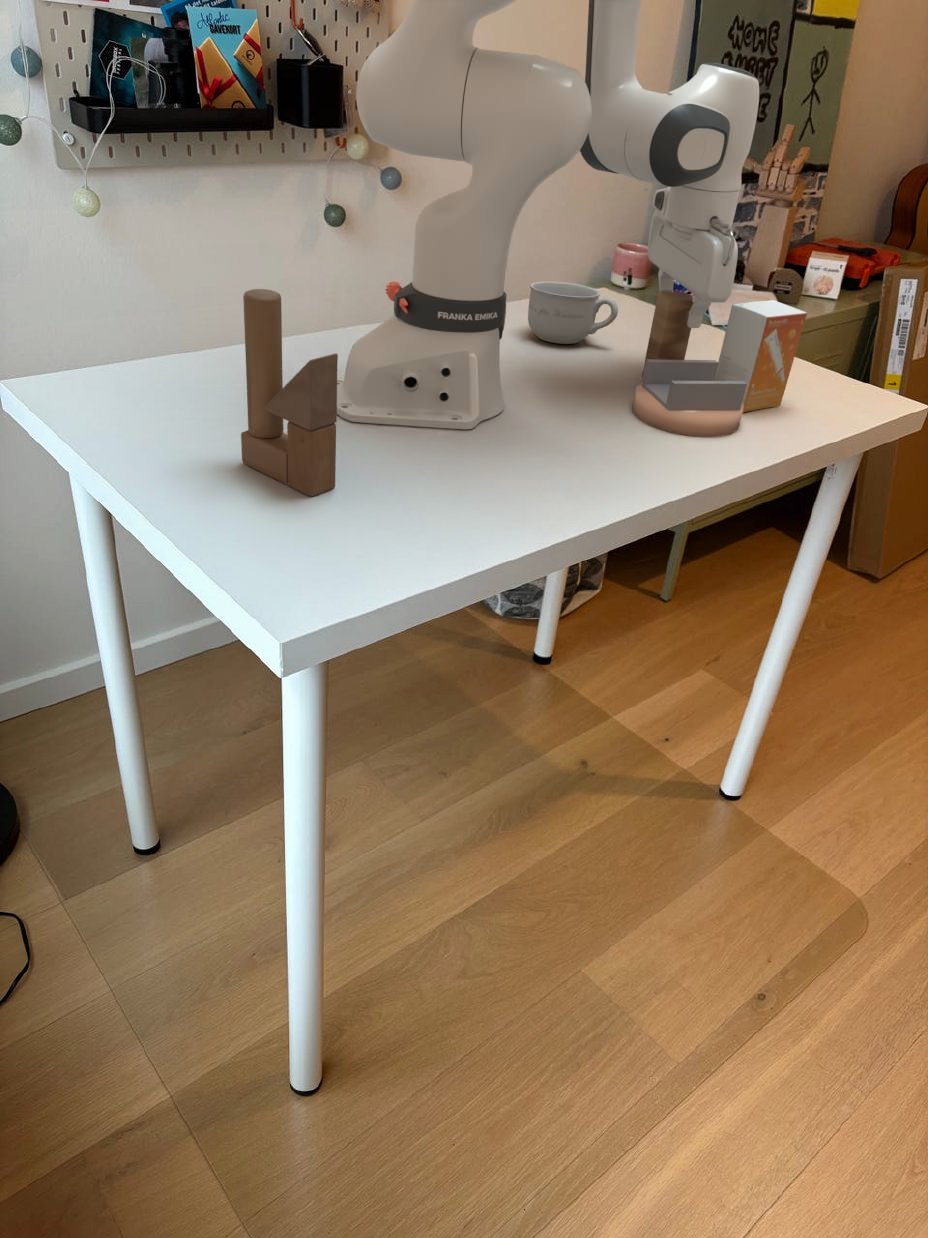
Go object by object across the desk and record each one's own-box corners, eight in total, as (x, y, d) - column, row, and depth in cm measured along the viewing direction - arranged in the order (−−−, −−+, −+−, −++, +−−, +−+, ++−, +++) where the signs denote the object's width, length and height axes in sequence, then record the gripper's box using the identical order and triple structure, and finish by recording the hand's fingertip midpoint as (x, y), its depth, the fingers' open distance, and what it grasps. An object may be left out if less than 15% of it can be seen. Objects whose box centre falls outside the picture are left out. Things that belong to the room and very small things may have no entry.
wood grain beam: (652, 386, 134) (670, 299, 128) (641, 376, 137) (658, 291, 131) (678, 386, 135) (697, 300, 129) (667, 376, 138) (684, 292, 132)
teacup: (511, 337, 148) (517, 284, 144) (546, 324, 156) (553, 273, 151) (589, 360, 142) (598, 305, 138) (622, 345, 150) (631, 293, 145)
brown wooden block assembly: (310, 498, 96) (310, 318, 86) (240, 464, 101) (233, 290, 91) (337, 488, 98) (340, 312, 88) (267, 455, 104) (263, 285, 94)
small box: (742, 414, 128) (767, 316, 121) (708, 397, 132) (730, 302, 125) (782, 406, 132) (809, 311, 125) (747, 391, 136) (772, 298, 129)
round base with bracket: (657, 437, 118) (667, 390, 115) (616, 396, 129) (624, 352, 126) (758, 436, 121) (770, 390, 118) (710, 396, 133) (720, 354, 129)
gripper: (759, 229, 116) (731, 341, 124) (691, 191, 132) (670, 292, 140) (712, 228, 114) (687, 341, 122) (649, 189, 130) (630, 291, 138)
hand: (677, 314), depth 131 cm, fingers open, 8 cm apart
